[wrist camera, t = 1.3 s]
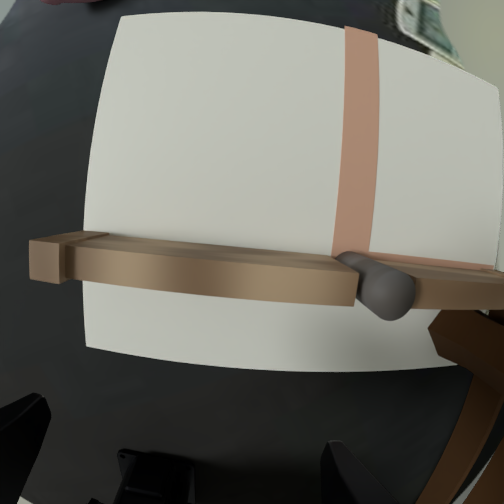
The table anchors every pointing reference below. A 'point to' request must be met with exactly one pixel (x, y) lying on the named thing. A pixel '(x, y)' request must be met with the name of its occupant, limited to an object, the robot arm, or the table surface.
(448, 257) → the card
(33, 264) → the fence panel
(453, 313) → the decorative fence
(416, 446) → the table surface
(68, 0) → the video game controller
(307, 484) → the table surface
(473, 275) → the fence fixed section
